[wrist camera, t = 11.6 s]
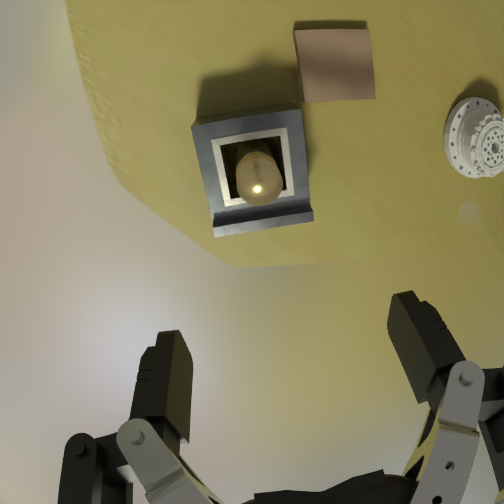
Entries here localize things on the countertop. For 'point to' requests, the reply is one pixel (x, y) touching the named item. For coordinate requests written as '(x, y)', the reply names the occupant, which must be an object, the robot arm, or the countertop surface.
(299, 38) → the brown square panel
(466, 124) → the mechanical component
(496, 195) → the countertop surface
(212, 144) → the grey square frame
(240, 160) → the translucent brown rounded cylinder
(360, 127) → the countertop surface
